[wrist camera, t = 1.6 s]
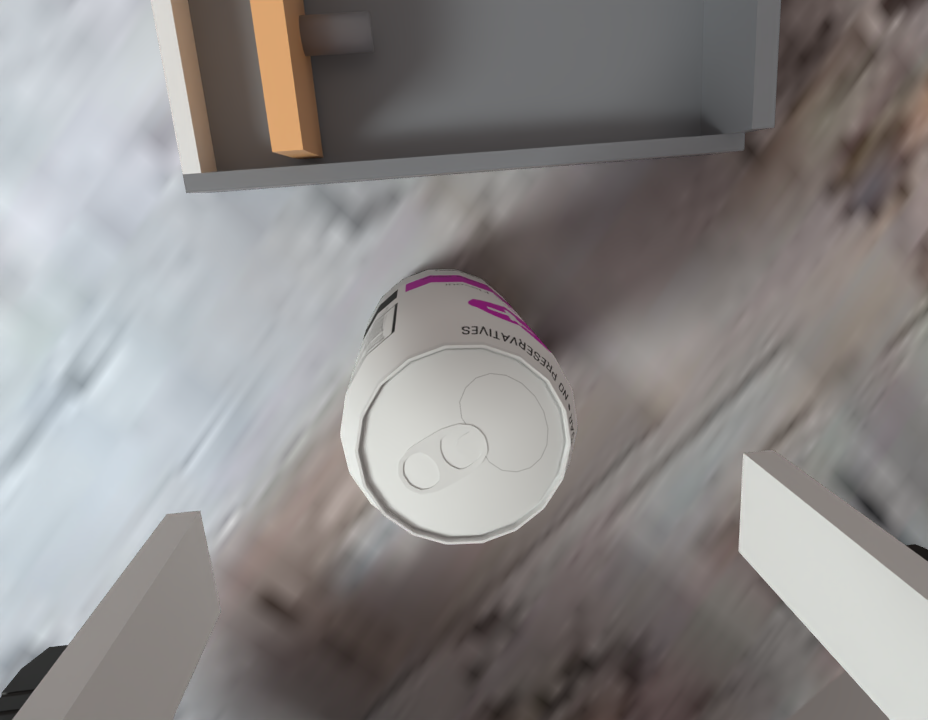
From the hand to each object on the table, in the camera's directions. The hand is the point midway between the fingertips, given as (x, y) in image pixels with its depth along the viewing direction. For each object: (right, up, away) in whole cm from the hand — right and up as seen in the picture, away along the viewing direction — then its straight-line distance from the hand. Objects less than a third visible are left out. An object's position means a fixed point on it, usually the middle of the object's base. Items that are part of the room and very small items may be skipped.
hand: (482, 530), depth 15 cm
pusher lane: (-1, +20, +16) cm, 25 cm away
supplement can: (-2, +5, +20) cm, 21 cm away
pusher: (-7, +19, +14) cm, 24 cm away
